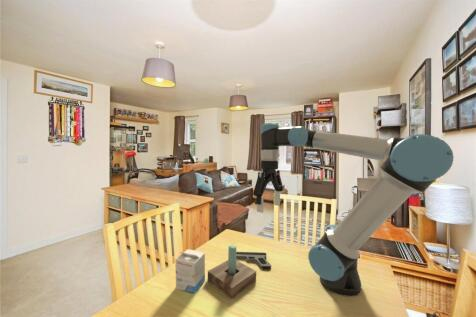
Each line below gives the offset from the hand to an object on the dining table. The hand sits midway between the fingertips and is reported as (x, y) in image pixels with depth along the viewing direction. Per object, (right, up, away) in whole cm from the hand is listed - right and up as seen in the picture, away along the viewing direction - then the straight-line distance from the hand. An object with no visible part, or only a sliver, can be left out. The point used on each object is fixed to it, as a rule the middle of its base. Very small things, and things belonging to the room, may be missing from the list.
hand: (268, 208), depth 89 cm
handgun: (-7, -28, +8) cm, 30 cm away
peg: (-16, -28, -6) cm, 33 cm away
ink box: (-32, -28, -8) cm, 44 cm away
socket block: (-16, -28, -6) cm, 33 cm away
